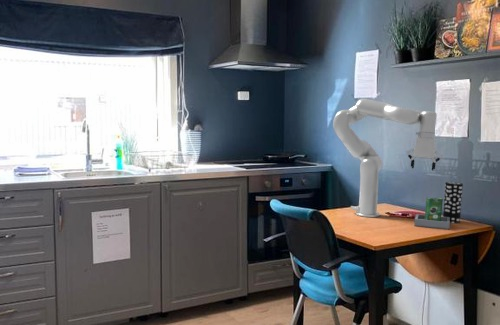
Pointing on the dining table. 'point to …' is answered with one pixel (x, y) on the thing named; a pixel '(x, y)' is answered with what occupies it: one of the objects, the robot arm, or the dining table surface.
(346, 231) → the dining table surface
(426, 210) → the coffee box
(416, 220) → the tray
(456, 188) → the white-spotted black cylinder
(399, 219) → the dining table surface
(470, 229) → the dining table surface
